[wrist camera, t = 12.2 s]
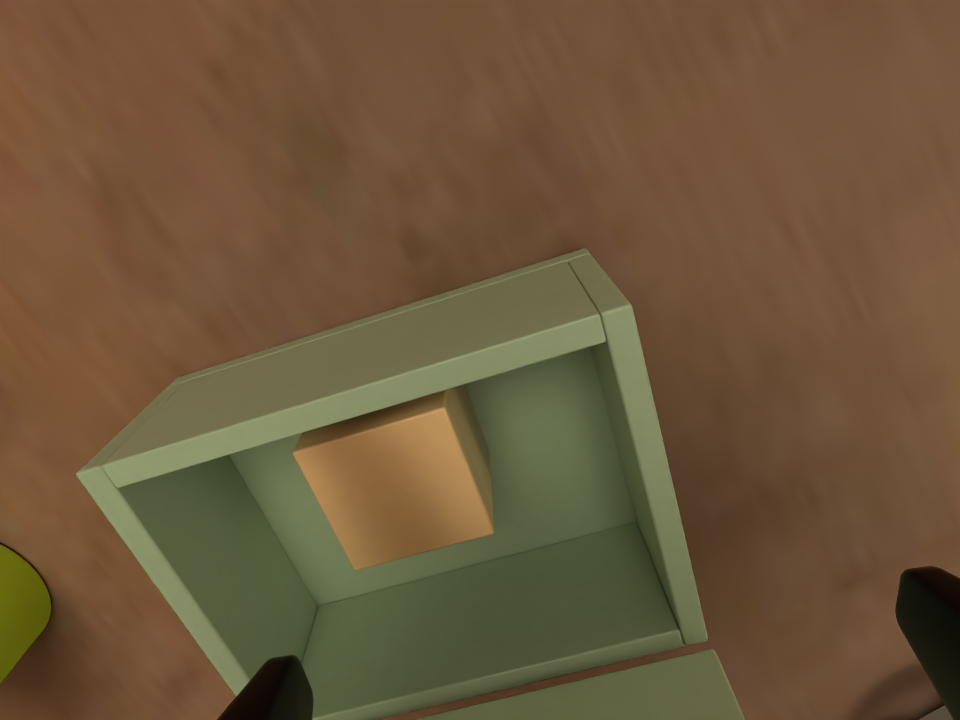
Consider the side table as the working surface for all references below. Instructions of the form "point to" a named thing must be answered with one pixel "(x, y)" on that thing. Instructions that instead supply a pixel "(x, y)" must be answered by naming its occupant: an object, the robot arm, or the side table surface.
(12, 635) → the soap dispenser
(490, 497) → the block
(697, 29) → the side table surface
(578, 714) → the lid
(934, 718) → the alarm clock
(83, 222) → the side table surface
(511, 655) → the chest
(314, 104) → the side table surface
